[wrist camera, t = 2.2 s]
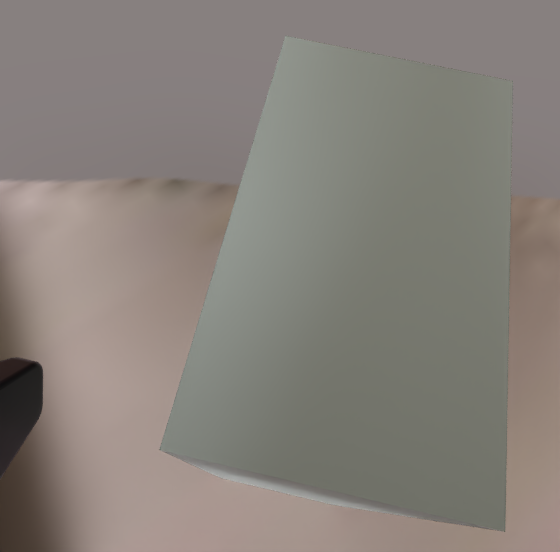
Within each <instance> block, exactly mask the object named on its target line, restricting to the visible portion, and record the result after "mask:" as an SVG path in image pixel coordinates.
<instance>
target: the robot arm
mask: <svg viewBox="0 0 560 552" xmlns="http://www.w3.org/2000/svg"><path fill="white" fill-rule="evenodd" d="M42 405H43V369H42V366H41V365H40V364H39V363H38V362H35V361H31V360H27V359H22V358H17V357H15V358H10V359H7V360H3V361H0V479H1V477H2V476H3V474H4V472H5V471H6V469H7V468H8V466H9V465H10V463H11V461H12V460H13V458H14V457H15V455H16V454H17V452H18V450H19V449H20V447H21V446H22V444H23V443H24V441H25V439H26V438H27V436H28V435H29V433H30V432H31V430H32V428H33V427H34V425H35V424H36V422H37V420H38V419H39V416H40V414H41V411H42Z"/></svg>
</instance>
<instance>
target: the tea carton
mask: <svg viewBox="0 0 560 552" xmlns="http://www.w3.org/2000/svg"><path fill="white" fill-rule="evenodd" d="M512 103H513V81H510V80H506V79H500V78H496V77H491V76H485V75H481V74H475V73H470V72H465V71H460V70H455V69H450V68H445V67H440V66H435V65H430V64H425V63H420V62H415V61H410V60H405V59H400V58H395V57H390V56H385V55H380V54H375V53H370V52H365V51H360V50H355V49H350V48H345V47H340V46H335V45H330V44H325V43H320V42H314V41H310V40H305V39H299V38H294V37H289V36H285V39H284V42H283V46H282V48H281V52H280V55H279V58H278V62H277V65H276V68H275V71H274V75H273V78H272V81H271V85H270V88H269V91H268V94H267V98H266V101H265V105H264V108H263V111H262V114H261V117H260V121H259V124H258V128H257V131H256V134H255V138H254V140H253V144H252V147H251V151H250V154H249V157H248V160H247V164H246V167H245V171H244V173H243V177H242V180H241V183H240V186H239V190H238V193H237V196H236V200H235V203H234V206H233V210H232V213H231V216H230V219H229V223H228V226H227V229H226V233H225V236H224V239H223V242H222V246H221V249H220V252H219V256H218V259H217V262H216V265H215V269H214V272H213V275H212V279H211V282H210V285H209V288H208V292H207V295H206V298H205V302H204V305H203V308H202V311H201V315H200V318H199V321H198V325H197V328H196V331H195V335H194V338H193V341H192V344H191V348H190V351H189V354H188V358H187V361H186V364H185V367H184V371H183V374H182V377H181V381H180V384H179V387H178V390H177V394H176V397H175V400H174V404H173V407H172V410H171V413H170V417H169V420H168V423H167V427H166V430H165V433H164V436H163V440H162V443H161V446H160V450H161V451H163V452H165V453H167V454H170V455H172V456H174V457H176V458H178V459H180V460H183V461H185V462H187V463H189V464H191V465H194V466H196V467H198V468H200V469H202V470H204V471H207V472H209V473H211V474H213V475H215V476H217V477H220V478H222V479H227V480H231V481H235V482H239V483H243V484H248V485H252V486H256V487H260V488H264V489H269V490H273V491H277V492H281V493H285V494H290V495H294V496H298V497H302V498H306V499H311V500H315V501H319V502H323V503H327V504H332V505H336V506H342V507H349V508H355V509H362V510H368V511H375V512H381V513H388V514H394V515H401V516H407V517H414V518H420V519H426V520H433V521H439V522H446V523H452V524H459V525H465V526H472V527H478V528H485V529H491V530H497V531H504V532H505V517H506V458H507V399H508V340H509V281H510V222H511V162H512V158H511V157H512Z"/></svg>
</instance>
